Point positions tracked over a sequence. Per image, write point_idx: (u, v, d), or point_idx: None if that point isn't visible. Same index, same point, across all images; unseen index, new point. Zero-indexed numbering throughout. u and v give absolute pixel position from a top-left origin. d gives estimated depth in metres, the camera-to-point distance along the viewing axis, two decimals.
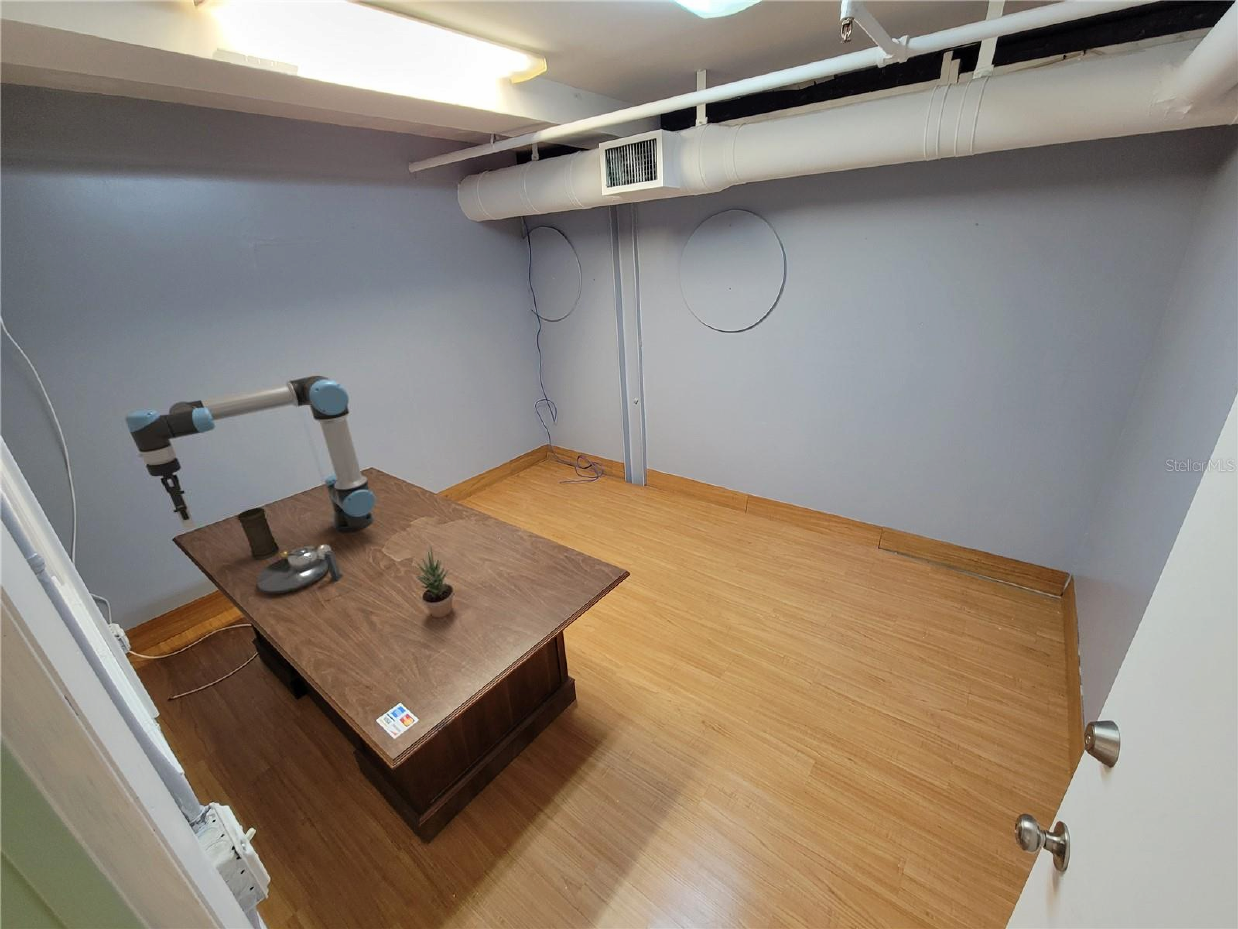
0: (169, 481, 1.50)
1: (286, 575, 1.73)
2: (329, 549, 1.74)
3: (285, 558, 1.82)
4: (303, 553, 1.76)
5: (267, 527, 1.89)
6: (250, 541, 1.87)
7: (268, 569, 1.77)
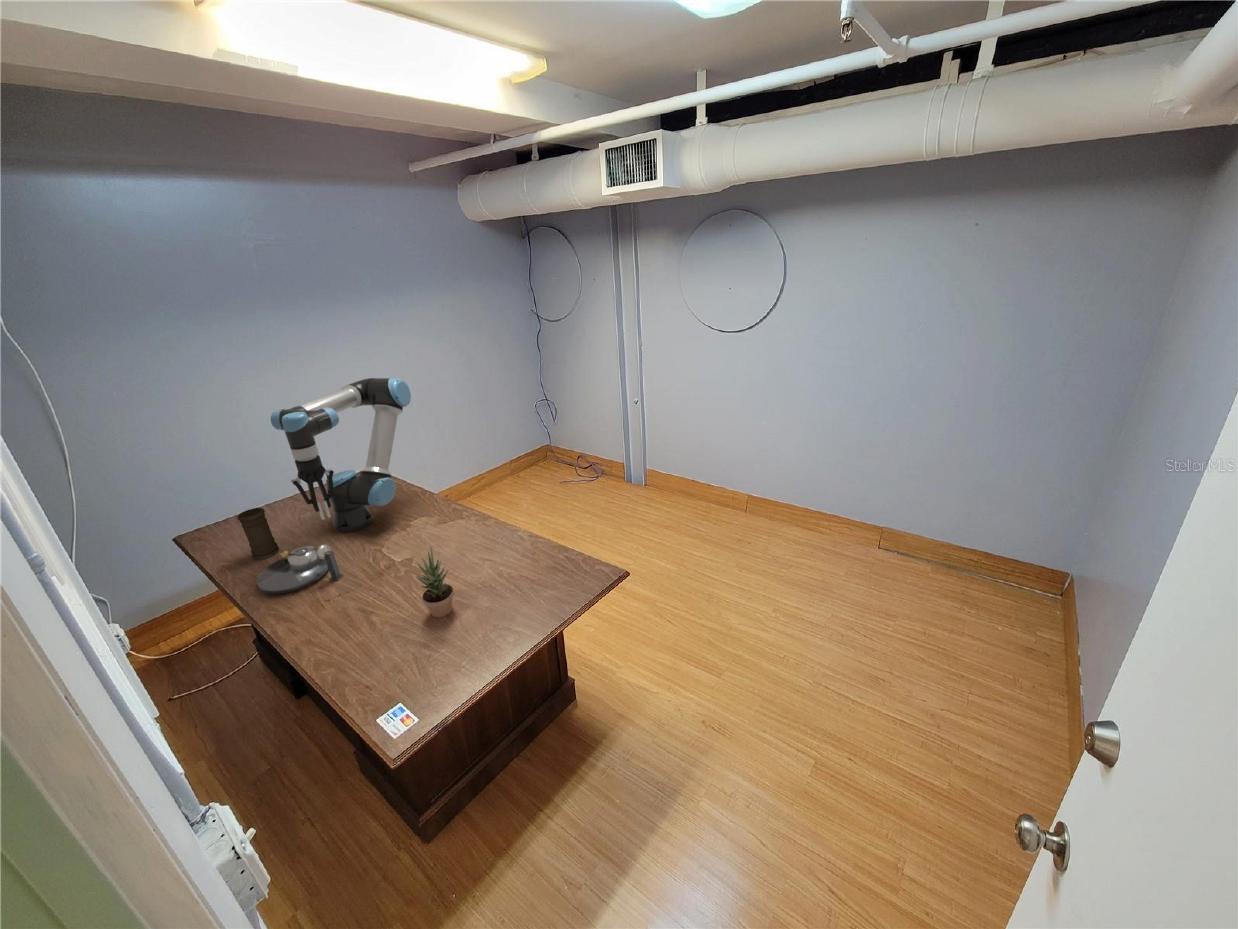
0: (292, 482, 1.69)
1: (286, 575, 1.73)
2: (329, 549, 1.74)
3: (285, 558, 1.82)
4: (303, 553, 1.76)
5: (267, 527, 1.89)
6: (250, 541, 1.87)
7: (268, 569, 1.77)
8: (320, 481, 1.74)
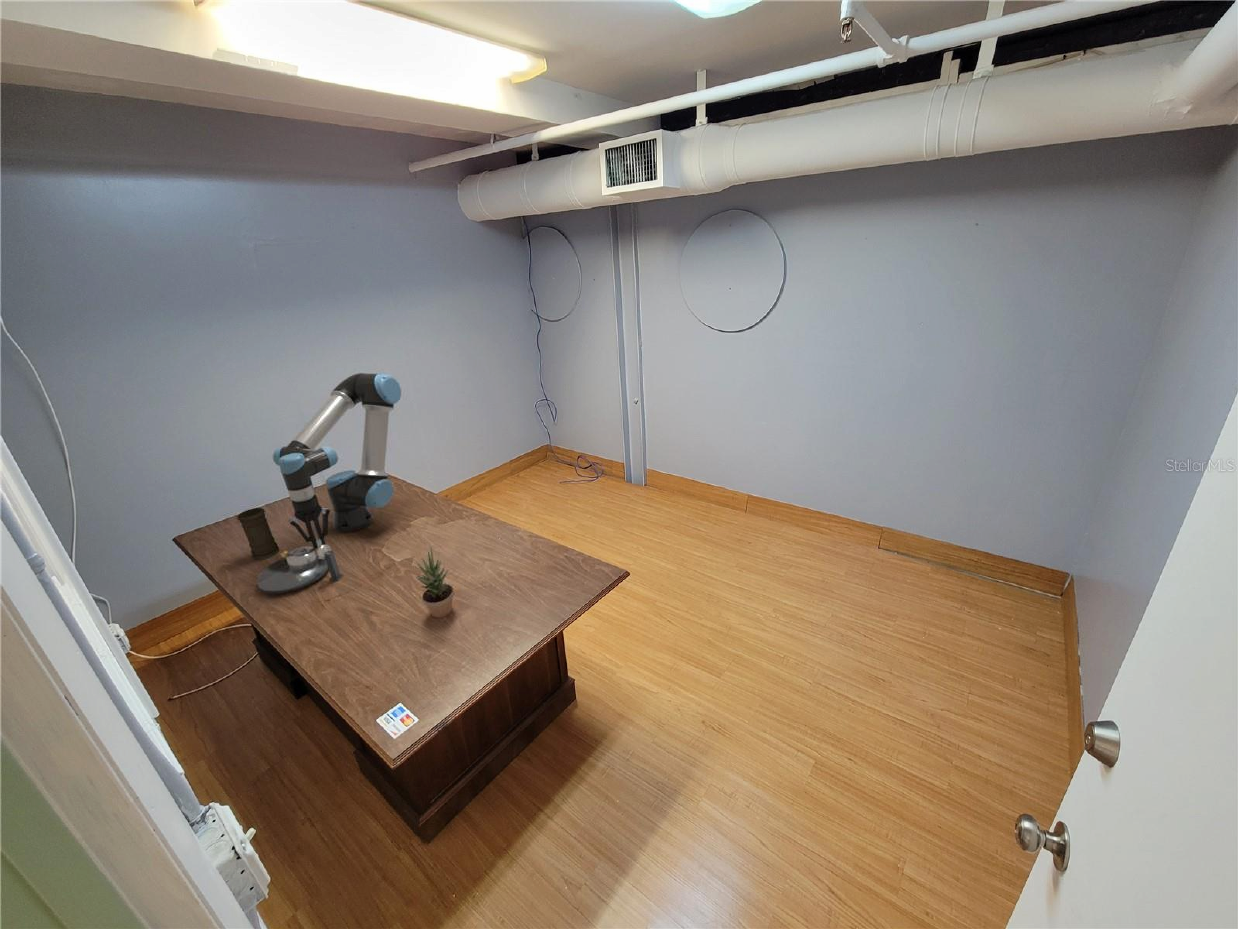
0: (289, 522, 1.72)
1: (286, 575, 1.73)
2: (329, 549, 1.74)
3: (285, 558, 1.82)
4: (302, 553, 1.75)
5: (267, 527, 1.89)
6: (250, 541, 1.87)
7: (268, 569, 1.77)
8: (316, 520, 1.76)
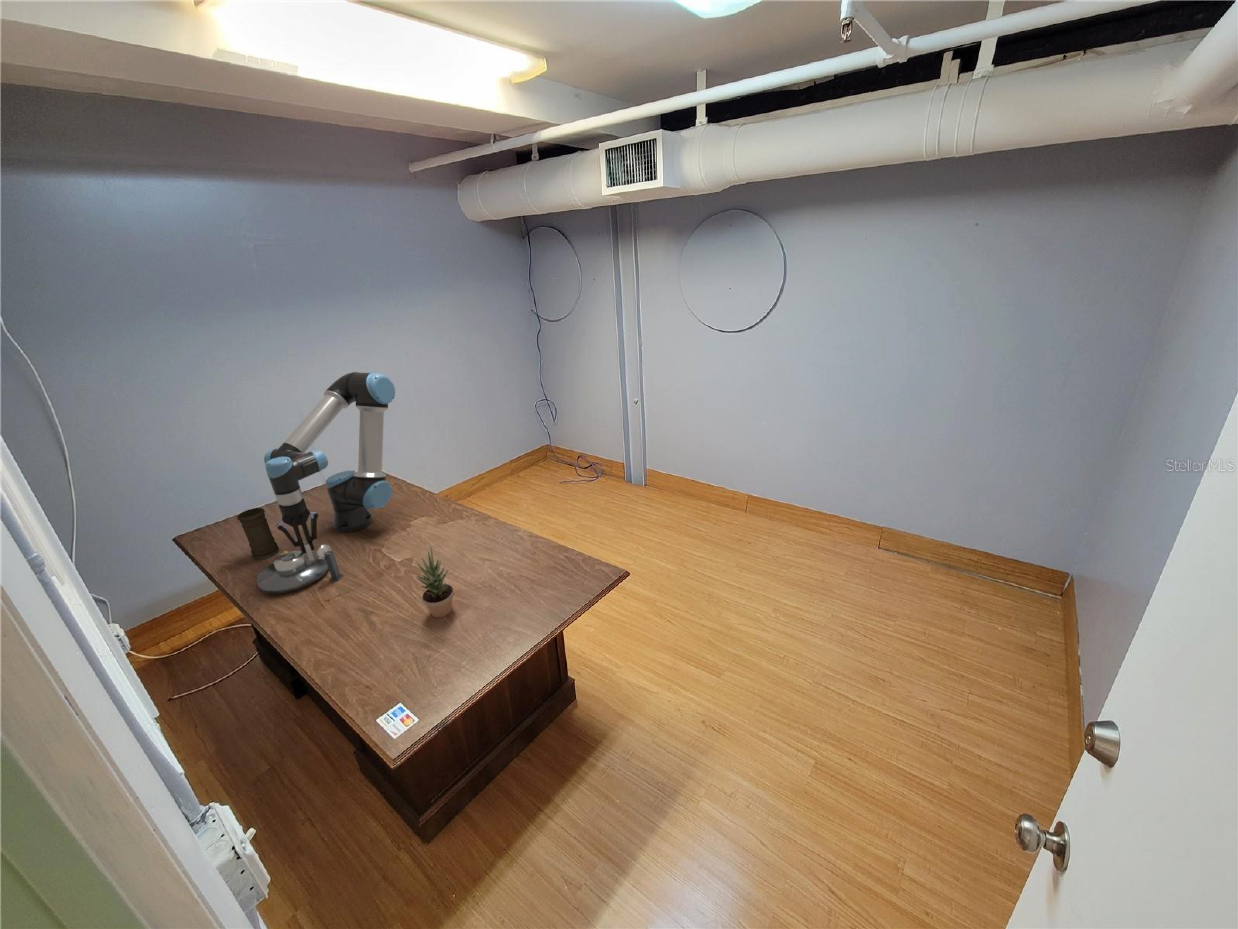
0: (277, 527, 1.69)
1: None
2: (329, 549, 1.74)
3: None
4: (290, 558, 1.73)
5: (267, 527, 1.89)
6: (250, 541, 1.87)
7: (268, 569, 1.77)
8: (304, 524, 1.74)
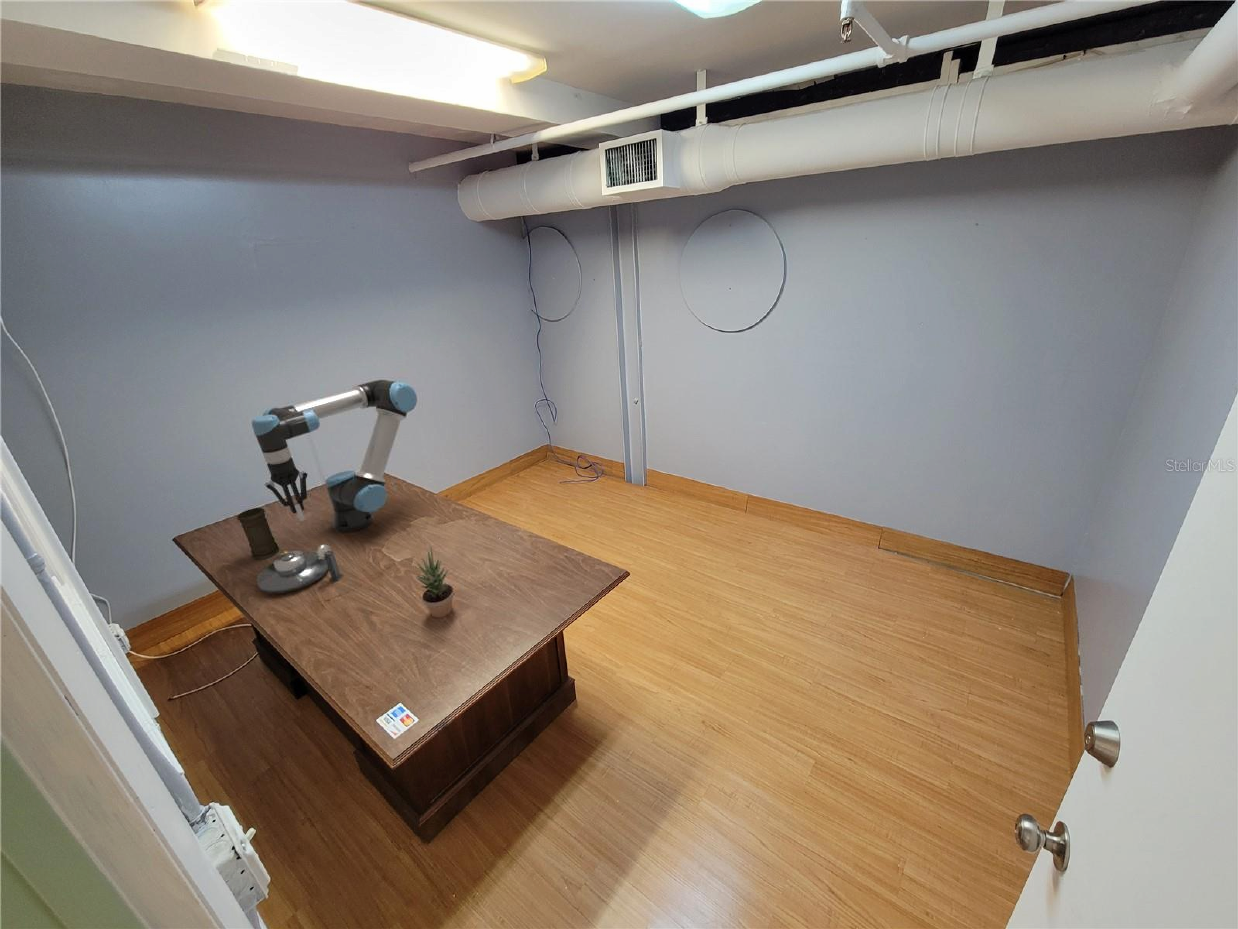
0: (266, 486, 1.69)
1: None
2: (329, 549, 1.74)
3: None
4: (290, 558, 1.73)
5: (267, 527, 1.89)
6: (250, 541, 1.87)
7: (268, 569, 1.77)
8: (293, 484, 1.73)
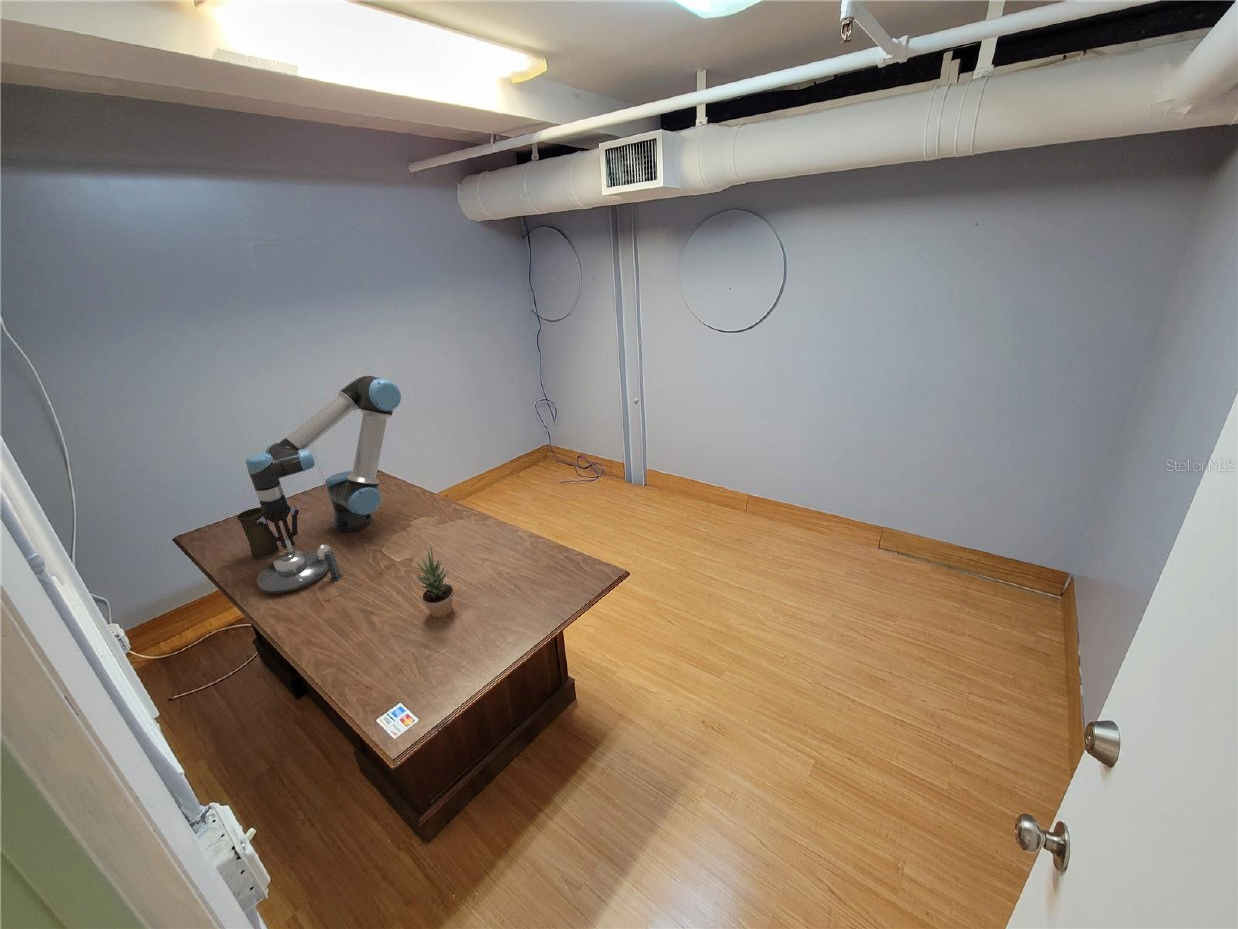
0: (257, 522, 1.72)
1: None
2: (329, 549, 1.74)
3: None
4: (290, 558, 1.73)
5: None
6: (250, 541, 1.87)
7: (268, 569, 1.77)
8: (284, 520, 1.77)
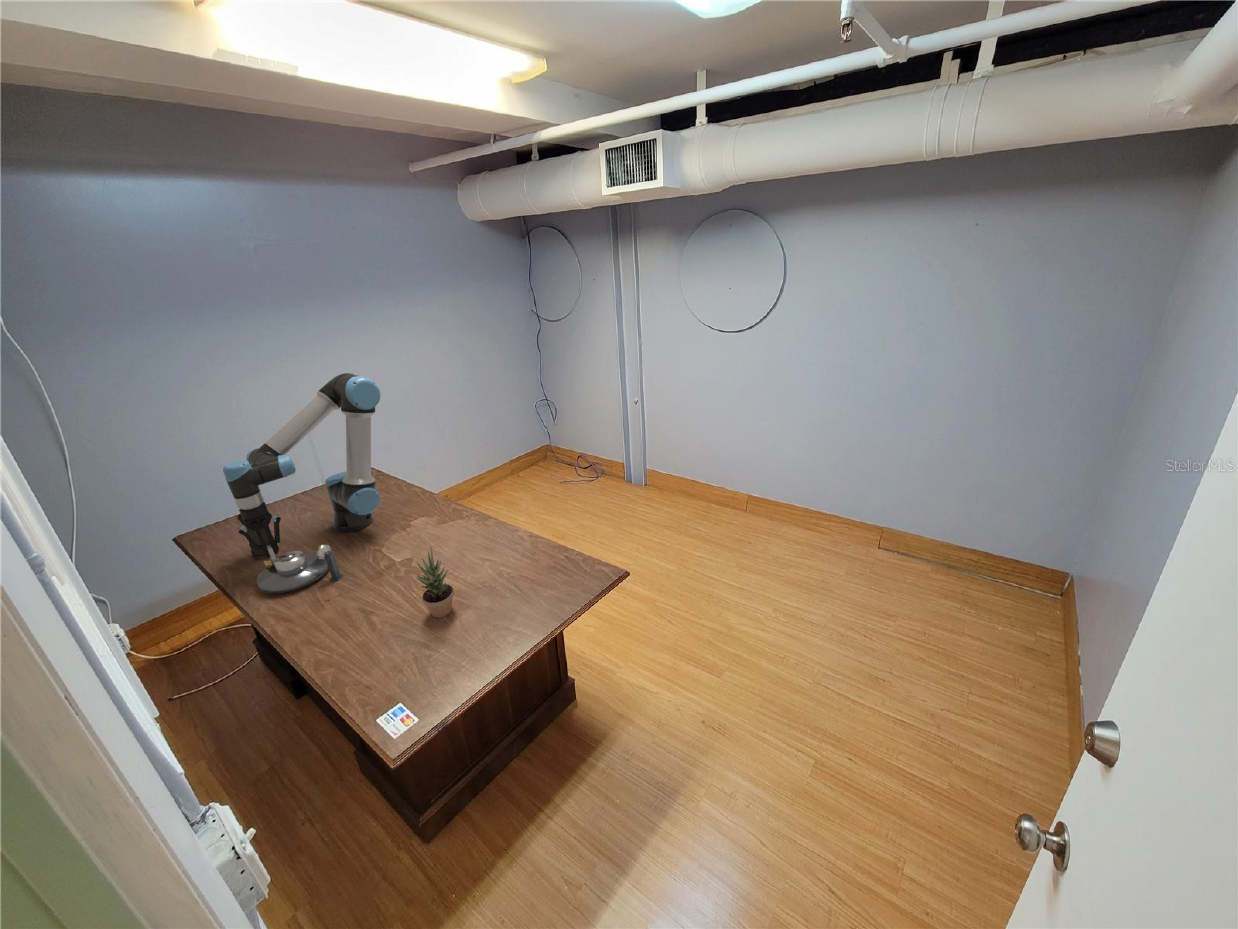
0: (238, 531, 1.69)
1: None
2: (329, 549, 1.74)
3: (271, 566, 1.77)
4: (293, 556, 1.74)
5: None
6: None
7: (261, 578, 1.72)
8: (266, 528, 1.73)
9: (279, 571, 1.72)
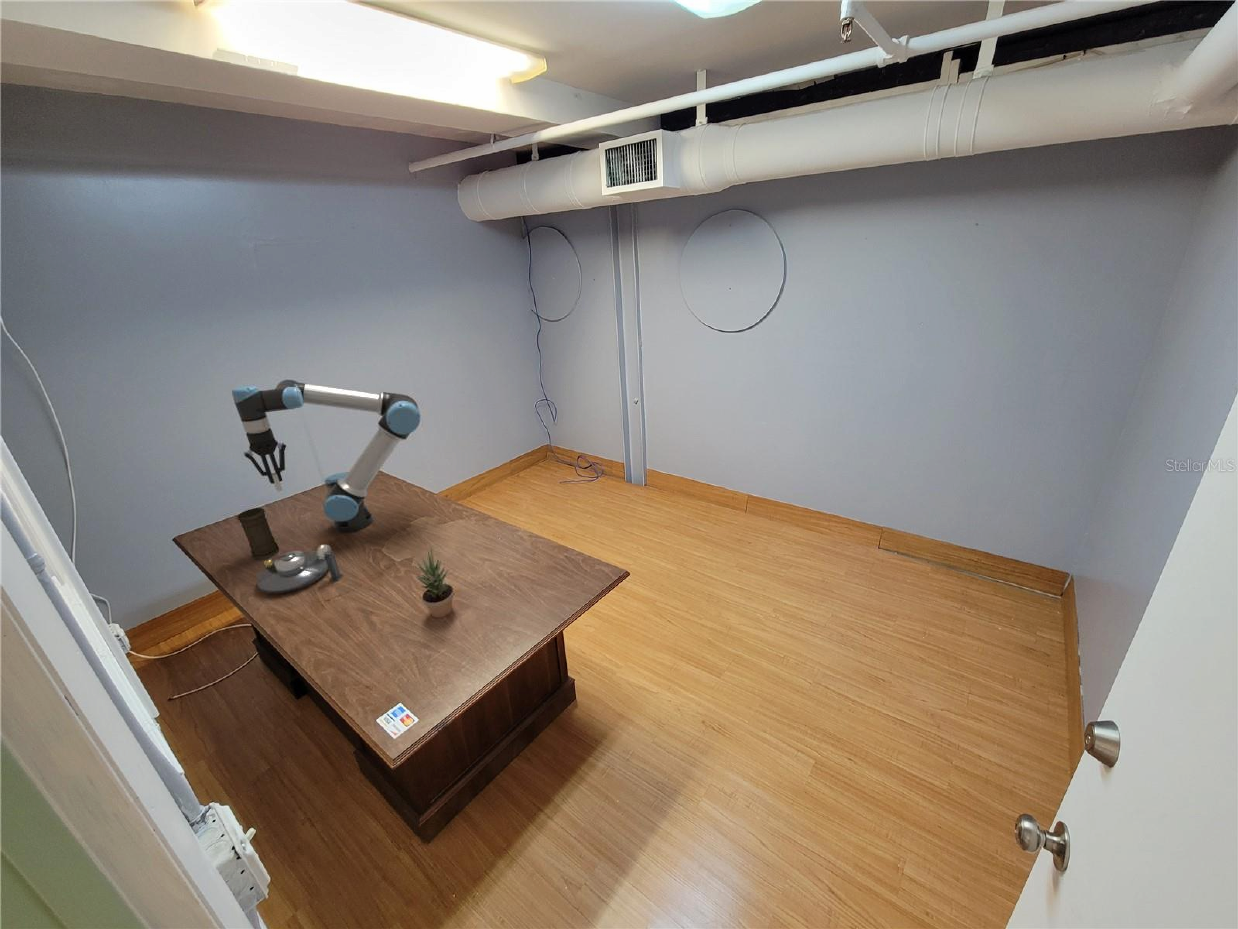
0: None
1: None
2: (329, 549, 1.74)
3: (271, 566, 1.77)
4: (293, 556, 1.74)
5: (267, 527, 1.89)
6: (250, 541, 1.87)
7: (261, 578, 1.72)
8: (272, 454, 1.78)
9: (279, 571, 1.72)
